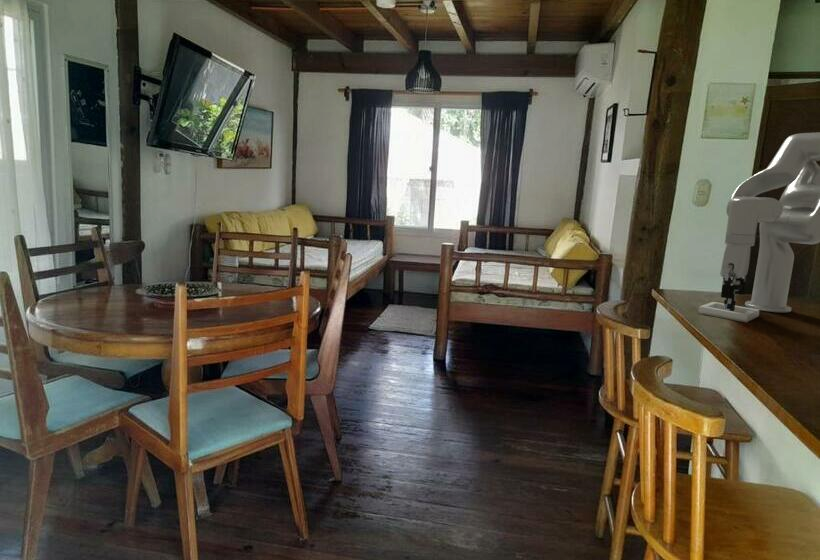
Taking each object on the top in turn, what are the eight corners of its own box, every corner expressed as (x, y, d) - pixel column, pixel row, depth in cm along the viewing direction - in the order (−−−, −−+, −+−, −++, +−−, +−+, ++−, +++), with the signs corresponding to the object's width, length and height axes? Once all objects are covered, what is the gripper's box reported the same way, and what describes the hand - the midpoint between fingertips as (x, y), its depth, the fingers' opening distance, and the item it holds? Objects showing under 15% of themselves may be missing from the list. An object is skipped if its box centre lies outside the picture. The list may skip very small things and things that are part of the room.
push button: (736, 316, 156) (741, 283, 154) (716, 313, 159) (721, 280, 158) (739, 312, 161) (744, 280, 159) (719, 309, 165) (724, 278, 163)
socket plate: (712, 308, 170) (712, 301, 169) (758, 316, 160) (759, 309, 160) (698, 313, 161) (699, 306, 161) (746, 322, 152) (747, 315, 152)
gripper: (735, 236, 165) (728, 289, 168) (716, 240, 154) (708, 297, 157) (762, 239, 160) (754, 293, 163) (745, 243, 148) (736, 302, 152)
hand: (732, 295), depth 160 cm, fingers open, 9 cm apart
